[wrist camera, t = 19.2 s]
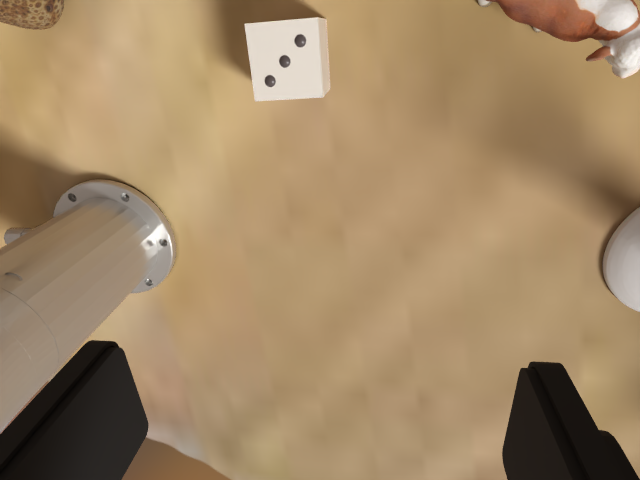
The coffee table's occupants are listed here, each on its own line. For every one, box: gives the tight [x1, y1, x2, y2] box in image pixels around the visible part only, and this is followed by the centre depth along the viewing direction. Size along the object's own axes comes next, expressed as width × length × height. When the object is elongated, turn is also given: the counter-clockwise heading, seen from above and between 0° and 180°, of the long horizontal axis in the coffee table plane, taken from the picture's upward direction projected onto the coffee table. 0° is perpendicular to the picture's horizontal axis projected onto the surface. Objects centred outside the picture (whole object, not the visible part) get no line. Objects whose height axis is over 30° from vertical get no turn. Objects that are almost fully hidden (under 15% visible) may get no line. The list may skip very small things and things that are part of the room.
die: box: [245, 17, 330, 101], centre depth 31 cm, size 5×5×5 cm
